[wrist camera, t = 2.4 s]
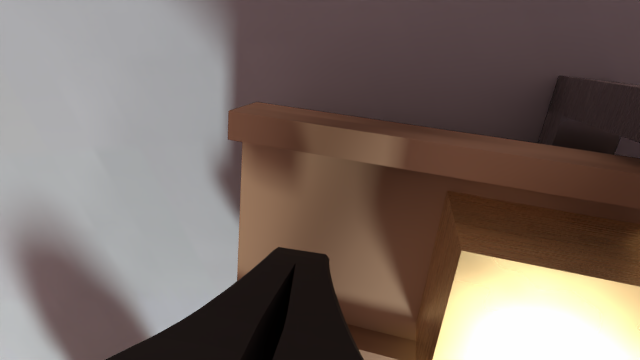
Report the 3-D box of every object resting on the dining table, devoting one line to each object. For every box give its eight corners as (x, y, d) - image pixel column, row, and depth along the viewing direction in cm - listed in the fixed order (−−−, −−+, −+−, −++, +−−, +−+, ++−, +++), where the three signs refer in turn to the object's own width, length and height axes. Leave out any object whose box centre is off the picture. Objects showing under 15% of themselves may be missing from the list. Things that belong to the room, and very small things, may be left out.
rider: (647, 225, 10) (764, 311, 6) (585, 363, 11) (654, 487, 8) (447, 190, 11) (461, 250, 7) (415, 322, 12) (416, 420, 9)
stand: (627, 64, 13) (783, 74, 8) (520, 354, 17) (580, 473, 12) (564, 56, 13) (681, 63, 8) (474, 347, 17) (516, 462, 12)
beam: (1179, 238, 8) (1399, 291, 6) (947, 472, 11) (1056, 557, 9) (256, 101, 12) (228, 110, 10) (247, 298, 15) (223, 333, 13)
